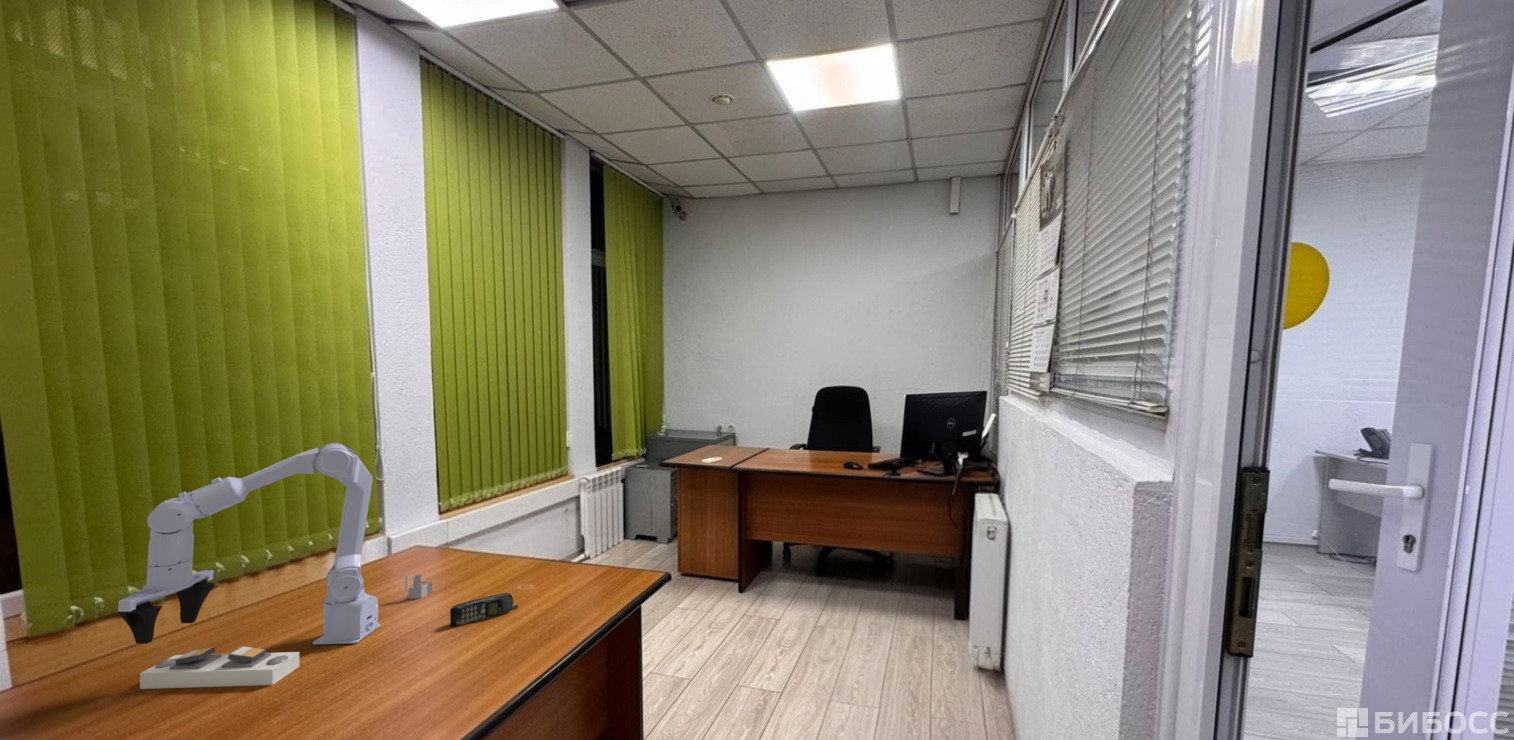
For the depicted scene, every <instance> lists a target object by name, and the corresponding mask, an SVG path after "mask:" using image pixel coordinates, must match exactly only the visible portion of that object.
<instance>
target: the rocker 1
mask: <svg viewBox="0 0 1514 740" xmlns="http://www.w3.org/2000/svg"><path fill="white" fill-rule="evenodd" d="M215 652H216V647H215V646H211V647H206V648H201V649H197V650H191V651H189V652H186V653H185V654H182V655H183V656H181V657H179V658H177V659H176V660H175V662H176V664H182V663H187V662H192V661H197V660H201V659H202V658H204V657H206V656H208V655H210V654H214V653H215Z"/></svg>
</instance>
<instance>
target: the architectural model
mask: <svg viewBox="0 0 1514 740" xmlns="http://www.w3.org/2000/svg"><path fill="white" fill-rule="evenodd" d="M422 584H424V585H422ZM405 589H406V590H407V589H408V590H407V591H408V592H407V593H408V595H407V596H408V597H407V598H408V600H418V599H423V598H424V597H425V596H427V594H431V593H432V594H433V581H422V574H414V575H413V577H412V587H410V575H409V574H406V575H405Z"/></svg>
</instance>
